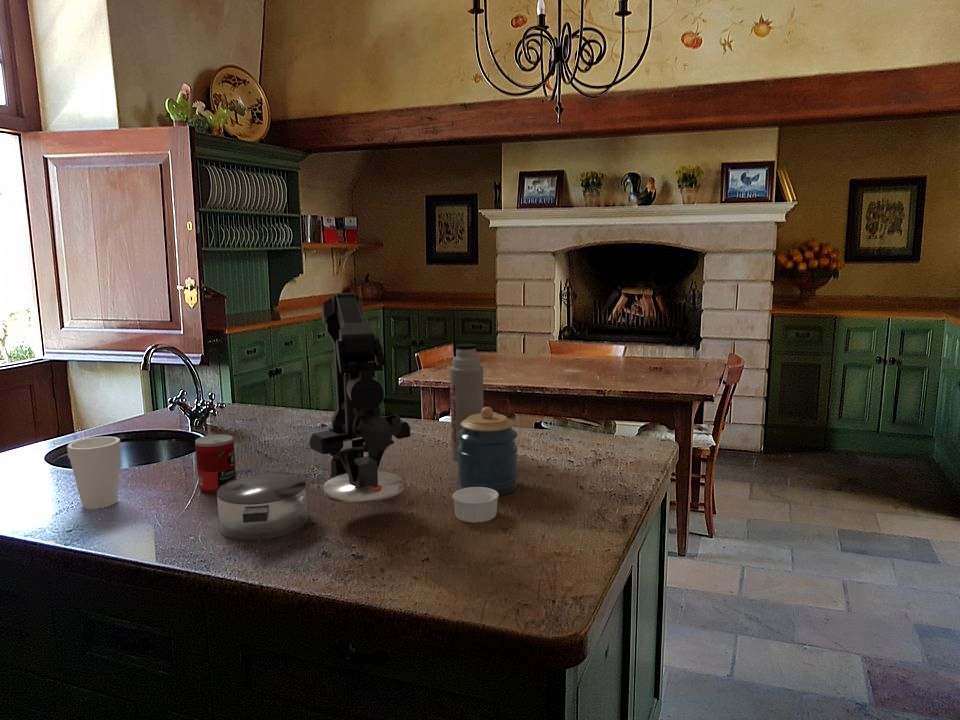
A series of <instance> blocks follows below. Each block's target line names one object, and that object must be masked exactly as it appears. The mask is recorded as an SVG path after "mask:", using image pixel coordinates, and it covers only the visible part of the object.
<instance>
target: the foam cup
mask: <svg viewBox="0 0 960 720" xmlns="http://www.w3.org/2000/svg"><path fill="white" fill-rule="evenodd" d="M66 450H67V457H68V459H69V461H70V462H69V463H70V465H71V469H72V472H73V476H74V481H75V483H76V487H77V491H78V494H79V498H80V503H81V504H82V505H81V506H82V508H83V509H85V510H100V509H99V508H101V509H104V507H106V508H109V507H111V505H112V506H114V505H116V504H117V502H118V498H119V481H120V480H119V478H120V459H121V458H120V455H121V451H122V445H121V439H120V438H119V437H117V436H109V435H108V436H96V437H86V438H82V439H78V440H75V441H73V442H70V443H68V445H67V446H66ZM115 503H116V504H115ZM113 504H114V505H113ZM108 506H109V507H108Z"/></svg>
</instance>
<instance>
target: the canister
mask: <svg viewBox="0 0 960 720" xmlns="http://www.w3.org/2000/svg"><path fill="white" fill-rule="evenodd" d="M514 424H515V423H514V421H513V420H512V419H510V418H508V417H507V416H506V415H504V414H501V413H495V412H494V410H493V409H492V407H490V406H484V408H483V409H482V410H481V414H474V415H471V416H469V417H468V418H467V419H465V420H463V421H462V422H461V426H462V427H463V428H462V430H460V431H459V432H458V433H457V437H458V438H459V439H460V443H459V447H458V448H457V452H458V461H457V462H458V463H457V464H458V465H457V471H458V475H457V483H458V487H459V488H458V489H459V490H460V489H464V488H469V487H485V488H490V489H493V490H495V491H497V492H498V494H499V496H503V495H507V494H510V493H512V492H514V491H515V490H516V489H517V486H518V482H519V479H518V478H519V474H518V451H519V449H518V446H517V445H516V439H517V437H518V435H519V433H518V432H517V431H516V430H515V429H514V428H513V426H514Z"/></svg>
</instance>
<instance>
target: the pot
mask: <svg viewBox="0 0 960 720" xmlns="http://www.w3.org/2000/svg"><path fill="white" fill-rule="evenodd" d="M216 500H217V501H216V502H217V513H218V525H219V532H220V533H221V535H223V536H224V537H226V538H229V539H233V540H240V541H261V540H267V539H268V540H269V539H275V538H279V537H282V536H283V537H284V536H286V535H288V534H291V533H293V532H296V531H298V530H299V528H300V529H301V528H302V527H304V526H303V525H304V524H305V523H307V522H308V520H309V519H308V504H307V502H308V501H307V486H306V481H305V480H304V479H303V478H302V477H300V476H297V475H293V474H284V473H280V472H279V471H272V472H271V471H270V472H268V471H267V472H258V473H257V475H250V476H245V477H241V478H236V480H234V481H231V482H229V483H227V484H225V485H223V486H222V487H220V488H219V489H218V491H217V493H216ZM307 519H308V520H307ZM305 525H306V524H305Z"/></svg>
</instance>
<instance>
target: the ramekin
mask: <svg viewBox="0 0 960 720" xmlns="http://www.w3.org/2000/svg"><path fill="white" fill-rule="evenodd" d="M499 496H500V495H499V494H498V492H497V491H495V490H493V489H490V488H485V487H469V488H464V489H460V488H459V489H458V490H456V491H455V492H454V491H453V494H452V500H453V504H454V505H453V506H454V514H455V517H456V518H457V519H458V520H459V521H462V522H465V523H470V522H471V523H472V524H478V522H480V523H485V522H489V521H491V520H493V519H494V518H495V517H496V516H497V513H498V512H497V511H498V499H499ZM471 523H470V524H471Z"/></svg>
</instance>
